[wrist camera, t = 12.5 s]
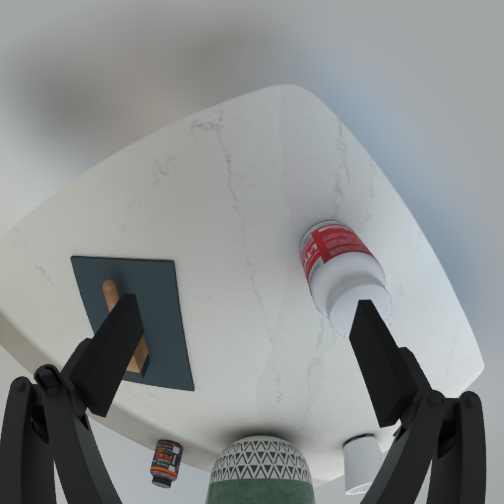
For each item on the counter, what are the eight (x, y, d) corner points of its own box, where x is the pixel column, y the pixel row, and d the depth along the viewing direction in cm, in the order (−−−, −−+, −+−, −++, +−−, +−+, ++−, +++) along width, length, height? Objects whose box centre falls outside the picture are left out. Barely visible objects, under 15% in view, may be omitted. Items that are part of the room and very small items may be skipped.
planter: (261, 462, 51) (260, 538, 31) (193, 438, 46) (178, 527, 26) (329, 436, 45) (341, 526, 25) (260, 407, 39) (258, 528, 20)
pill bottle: (297, 221, 26) (320, 279, 16) (357, 216, 26) (407, 269, 16) (299, 277, 29) (317, 351, 19) (354, 271, 29) (392, 338, 19)
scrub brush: (106, 268, 29) (90, 286, 25) (128, 270, 29) (113, 288, 25) (132, 357, 35) (123, 377, 31) (151, 360, 35) (143, 381, 31)
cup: (388, 430, 45) (401, 476, 34) (361, 450, 49) (369, 492, 38) (356, 430, 44) (367, 481, 32) (328, 449, 48) (335, 496, 36)
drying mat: (72, 255, 29) (70, 257, 28) (174, 260, 29) (172, 262, 28) (114, 375, 38) (113, 378, 37) (194, 388, 38) (194, 391, 37)
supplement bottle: (175, 439, 47) (166, 483, 36) (187, 450, 49) (180, 491, 39) (152, 438, 47) (142, 479, 37) (165, 449, 50) (157, 488, 40)
